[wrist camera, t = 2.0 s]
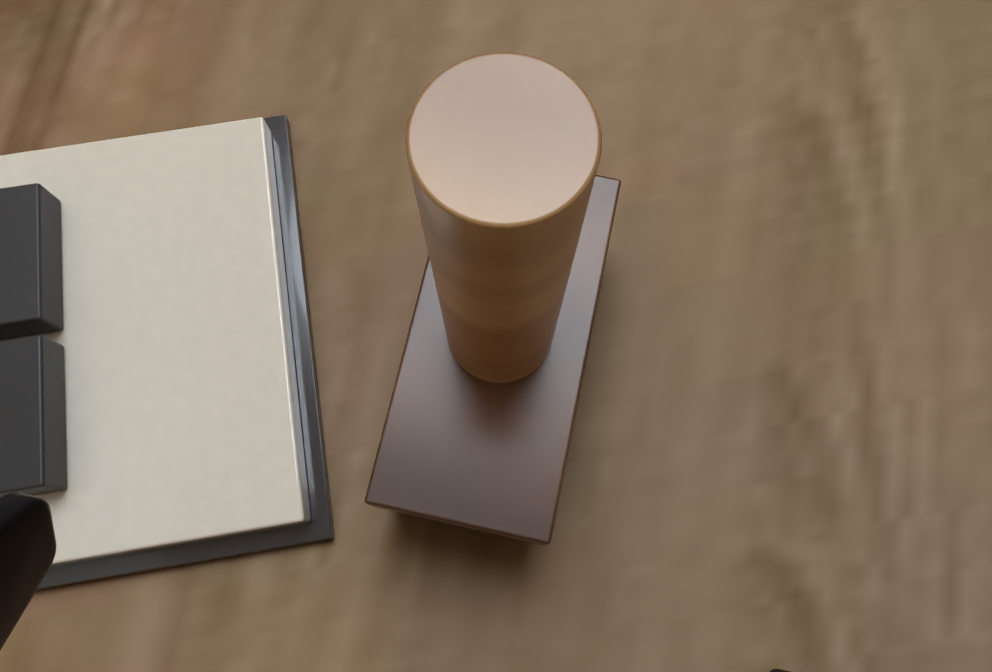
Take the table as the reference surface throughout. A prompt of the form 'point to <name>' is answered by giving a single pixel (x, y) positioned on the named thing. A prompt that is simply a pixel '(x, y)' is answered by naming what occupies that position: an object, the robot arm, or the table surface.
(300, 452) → the white notepad
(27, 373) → the black piece
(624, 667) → the table surface
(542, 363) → the cylinder on rectangular base
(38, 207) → the black piece
